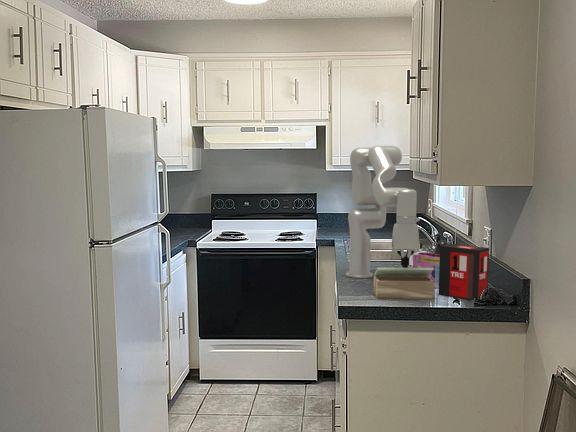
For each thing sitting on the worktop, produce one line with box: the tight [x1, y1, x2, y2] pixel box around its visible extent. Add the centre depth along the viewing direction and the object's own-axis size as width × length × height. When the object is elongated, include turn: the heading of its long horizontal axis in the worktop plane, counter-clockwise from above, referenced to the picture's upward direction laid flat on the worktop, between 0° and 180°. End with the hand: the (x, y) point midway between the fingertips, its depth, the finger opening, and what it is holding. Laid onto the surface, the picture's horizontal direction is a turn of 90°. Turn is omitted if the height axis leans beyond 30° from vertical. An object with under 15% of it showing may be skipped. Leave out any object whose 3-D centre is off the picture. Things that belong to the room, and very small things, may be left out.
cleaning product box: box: [438, 243, 490, 301], centre depth 242 cm, size 16×9×20 cm, turn 48°
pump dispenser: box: [432, 239, 449, 254], centre depth 296 cm, size 10×10×15 cm
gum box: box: [412, 252, 440, 290], centre depth 260 cm, size 24×8×14 cm, turn 52°
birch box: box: [372, 275, 435, 300], centre depth 242 cm, size 10×22×7 cm, turn 91°
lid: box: [373, 267, 433, 277], centre depth 242 cm, size 10×22×1 cm, turn 91°
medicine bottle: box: [408, 241, 426, 267], centre depth 313 cm, size 7×7×12 cm
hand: (404, 267), depth 238 cm, fingers closed
